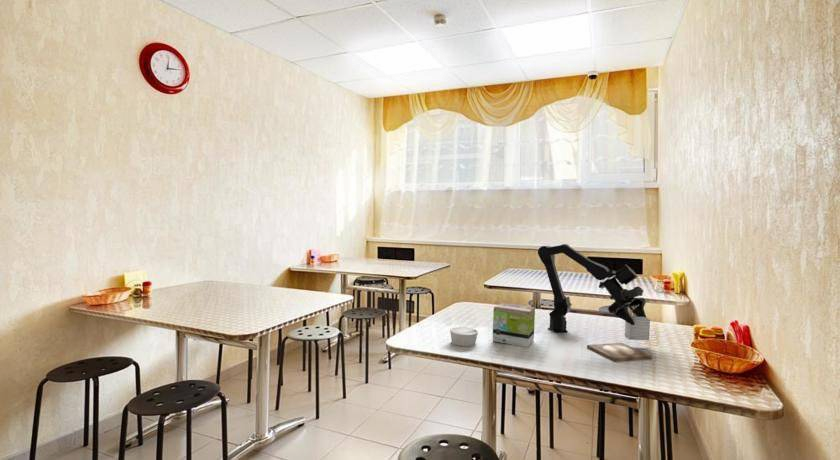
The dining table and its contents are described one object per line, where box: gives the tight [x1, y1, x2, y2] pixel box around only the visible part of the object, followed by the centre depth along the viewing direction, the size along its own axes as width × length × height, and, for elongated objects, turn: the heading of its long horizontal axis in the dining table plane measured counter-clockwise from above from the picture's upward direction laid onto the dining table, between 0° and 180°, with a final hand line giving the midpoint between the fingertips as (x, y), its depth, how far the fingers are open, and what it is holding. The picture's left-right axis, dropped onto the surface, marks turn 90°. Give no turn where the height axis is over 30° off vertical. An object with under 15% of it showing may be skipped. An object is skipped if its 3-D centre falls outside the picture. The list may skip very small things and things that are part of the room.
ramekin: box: [449, 326, 479, 348], centre depth 172 cm, size 11×11×5 cm
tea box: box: [492, 302, 536, 349], centre depth 175 cm, size 15×10×15 cm, turn 62°
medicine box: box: [624, 315, 651, 341], centre depth 171 cm, size 8×4×9 cm, turn 86°
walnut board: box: [586, 342, 653, 362], centre depth 163 cm, size 16×16×1 cm
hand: (640, 323), depth 170 cm, fingers closed on medicine box, 9 cm apart
